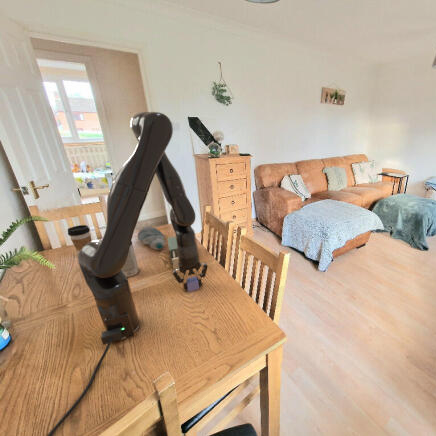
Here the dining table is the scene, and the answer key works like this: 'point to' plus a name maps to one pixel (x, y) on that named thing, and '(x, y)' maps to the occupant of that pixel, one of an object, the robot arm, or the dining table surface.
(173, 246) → the cabinet
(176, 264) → the drawer
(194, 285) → the purple cube
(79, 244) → the coffee cup
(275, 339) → the dining table surface
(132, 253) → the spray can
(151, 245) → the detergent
